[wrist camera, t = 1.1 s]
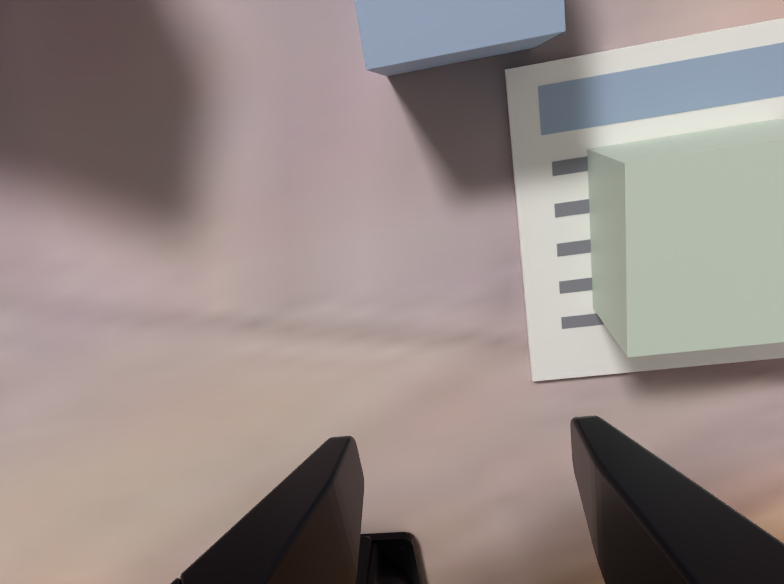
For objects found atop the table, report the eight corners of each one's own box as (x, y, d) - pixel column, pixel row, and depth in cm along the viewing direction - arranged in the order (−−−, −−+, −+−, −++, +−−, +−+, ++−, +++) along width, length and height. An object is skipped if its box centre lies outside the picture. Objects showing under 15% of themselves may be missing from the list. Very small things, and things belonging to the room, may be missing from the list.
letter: (822, 350, 20) (828, 353, 19) (531, 377, 21) (532, 381, 21) (868, 2, 16) (877, 0, 15) (504, 70, 17) (505, 69, 17)
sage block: (762, 288, 19) (840, 336, 15) (592, 307, 20) (627, 357, 16) (777, 118, 17) (871, 125, 13) (587, 148, 18) (624, 163, 14)
